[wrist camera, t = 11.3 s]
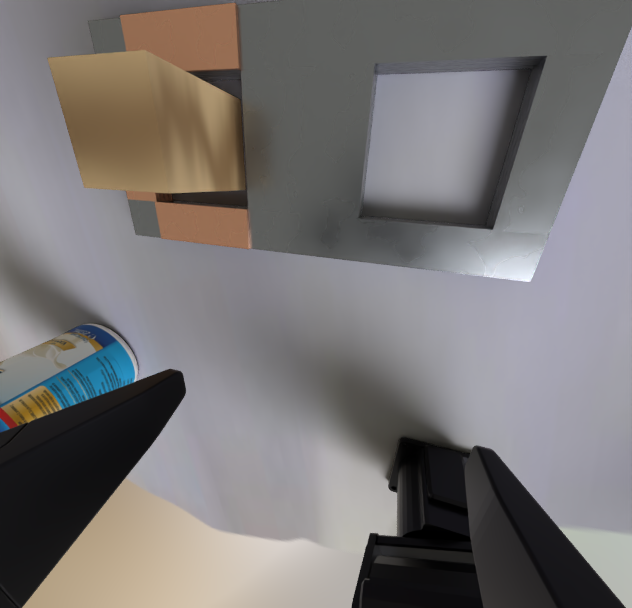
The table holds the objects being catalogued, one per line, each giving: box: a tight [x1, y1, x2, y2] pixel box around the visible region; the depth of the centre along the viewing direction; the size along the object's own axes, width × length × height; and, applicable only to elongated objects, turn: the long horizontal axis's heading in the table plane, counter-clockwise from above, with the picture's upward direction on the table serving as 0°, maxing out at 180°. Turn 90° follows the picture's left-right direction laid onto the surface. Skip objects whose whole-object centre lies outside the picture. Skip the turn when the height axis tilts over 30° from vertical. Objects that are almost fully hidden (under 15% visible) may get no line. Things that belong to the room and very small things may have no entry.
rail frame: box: [88, 0, 632, 282], centre depth 16 cm, size 12×26×2 cm, turn 87°
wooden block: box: [48, 50, 246, 193], centre depth 15 cm, size 5×5×7 cm
